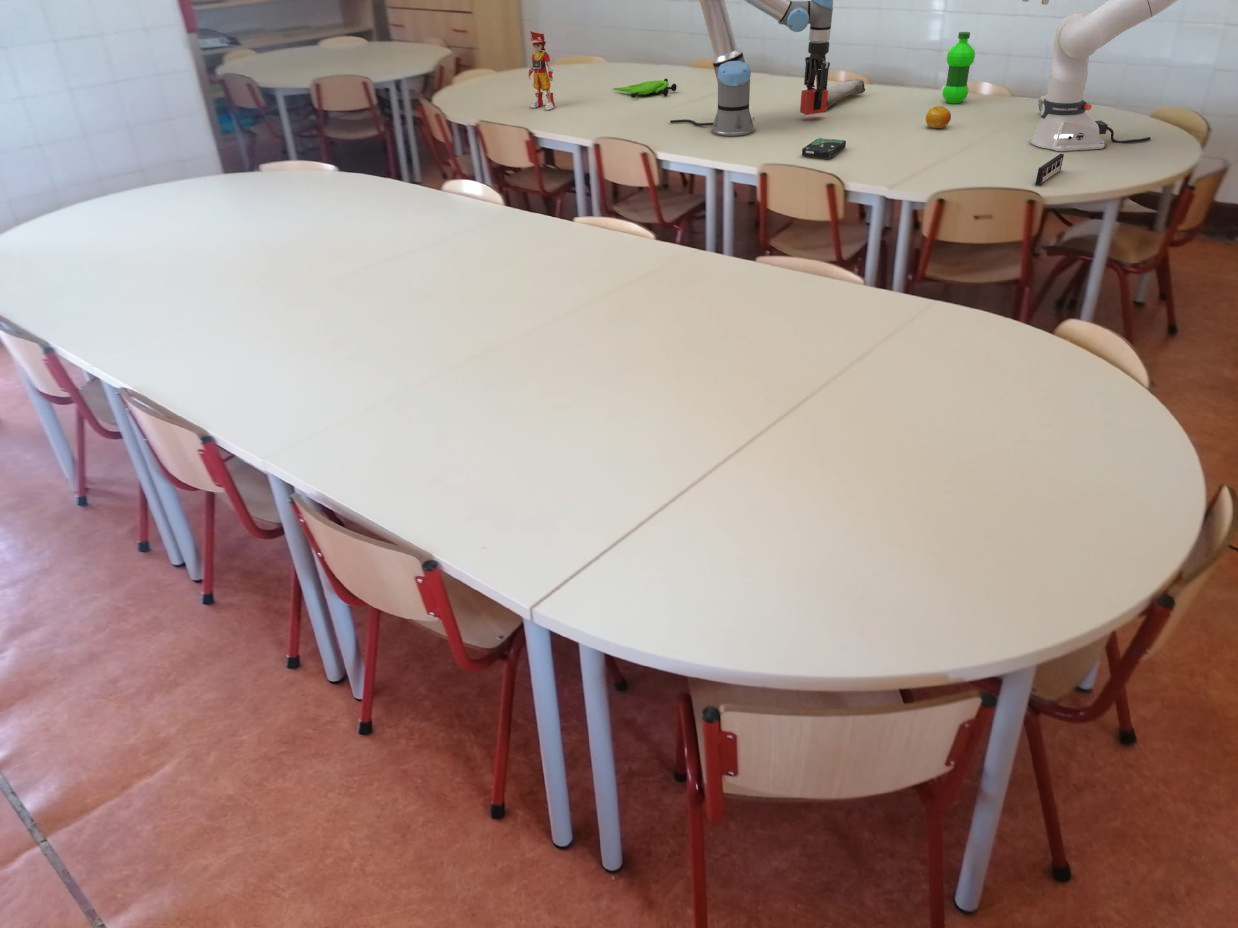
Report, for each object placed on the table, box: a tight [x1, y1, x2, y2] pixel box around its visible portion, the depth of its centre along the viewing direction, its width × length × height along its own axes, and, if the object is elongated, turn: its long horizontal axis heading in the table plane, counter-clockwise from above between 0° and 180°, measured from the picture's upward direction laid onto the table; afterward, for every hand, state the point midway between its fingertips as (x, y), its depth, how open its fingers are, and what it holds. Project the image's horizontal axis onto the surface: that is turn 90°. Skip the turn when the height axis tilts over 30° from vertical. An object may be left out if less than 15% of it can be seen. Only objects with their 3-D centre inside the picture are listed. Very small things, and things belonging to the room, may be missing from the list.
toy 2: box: [612, 78, 677, 99], centre depth 396 cm, size 28×5×30 cm
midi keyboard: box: [1035, 153, 1065, 186], centre depth 273 cm, size 18×1×5 cm, turn 138°
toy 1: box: [527, 31, 556, 111], centre depth 374 cm, size 12×9×30 cm
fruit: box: [925, 105, 952, 129], centre depth 325 cm, size 8×8×8 cm
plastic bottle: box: [942, 31, 976, 104], centre depth 348 cm, size 10×10×25 cm
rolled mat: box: [826, 78, 866, 110], centre depth 363 cm, size 30×9×10 cm
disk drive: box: [801, 137, 847, 160], centre depth 307 cm, size 10×3×15 cm
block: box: [799, 88, 828, 116], centre depth 341 cm, size 5×9×8 cm, turn 111°
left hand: (813, 107), depth 342 cm, fingers closed on block, 5 cm apart
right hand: (1034, 3), depth 316 cm, fingers open, 8 cm apart
